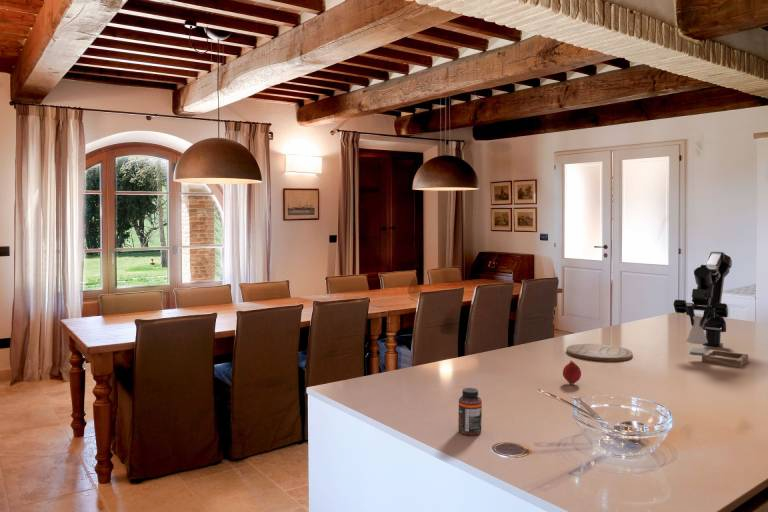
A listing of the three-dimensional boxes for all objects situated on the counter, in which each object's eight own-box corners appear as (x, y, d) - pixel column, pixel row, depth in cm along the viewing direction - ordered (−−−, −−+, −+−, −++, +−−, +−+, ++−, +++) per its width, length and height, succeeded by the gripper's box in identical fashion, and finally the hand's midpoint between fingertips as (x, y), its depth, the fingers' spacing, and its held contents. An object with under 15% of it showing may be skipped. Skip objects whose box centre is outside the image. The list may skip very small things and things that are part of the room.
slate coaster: (691, 349, 259) (692, 347, 259) (716, 351, 255) (716, 350, 255) (689, 353, 252) (690, 351, 251) (715, 356, 247) (715, 354, 247)
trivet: (563, 359, 244) (563, 354, 244) (569, 346, 267) (569, 341, 267) (632, 365, 234) (632, 360, 234) (632, 351, 257) (633, 346, 257)
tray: (710, 355, 248) (710, 349, 248) (747, 361, 240) (748, 354, 240) (701, 361, 238) (702, 355, 238) (740, 367, 230) (740, 360, 230)
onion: (581, 382, 210) (581, 359, 209) (580, 387, 204) (581, 363, 203) (562, 381, 211) (563, 357, 211) (561, 385, 206) (562, 361, 205)
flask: (695, 340, 247) (695, 314, 247) (711, 343, 241) (712, 317, 240) (682, 341, 244) (683, 316, 244) (698, 345, 238) (699, 319, 237)
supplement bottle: (456, 428, 166) (456, 386, 165) (478, 427, 166) (478, 386, 165) (460, 436, 160) (461, 393, 159) (483, 436, 160) (484, 392, 159)
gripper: (675, 279, 249) (667, 310, 242) (728, 282, 238) (721, 315, 230) (679, 296, 256) (671, 327, 249) (731, 300, 245) (724, 333, 237)
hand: (696, 325), depth 241 cm, fingers closed on flask, 3 cm apart
